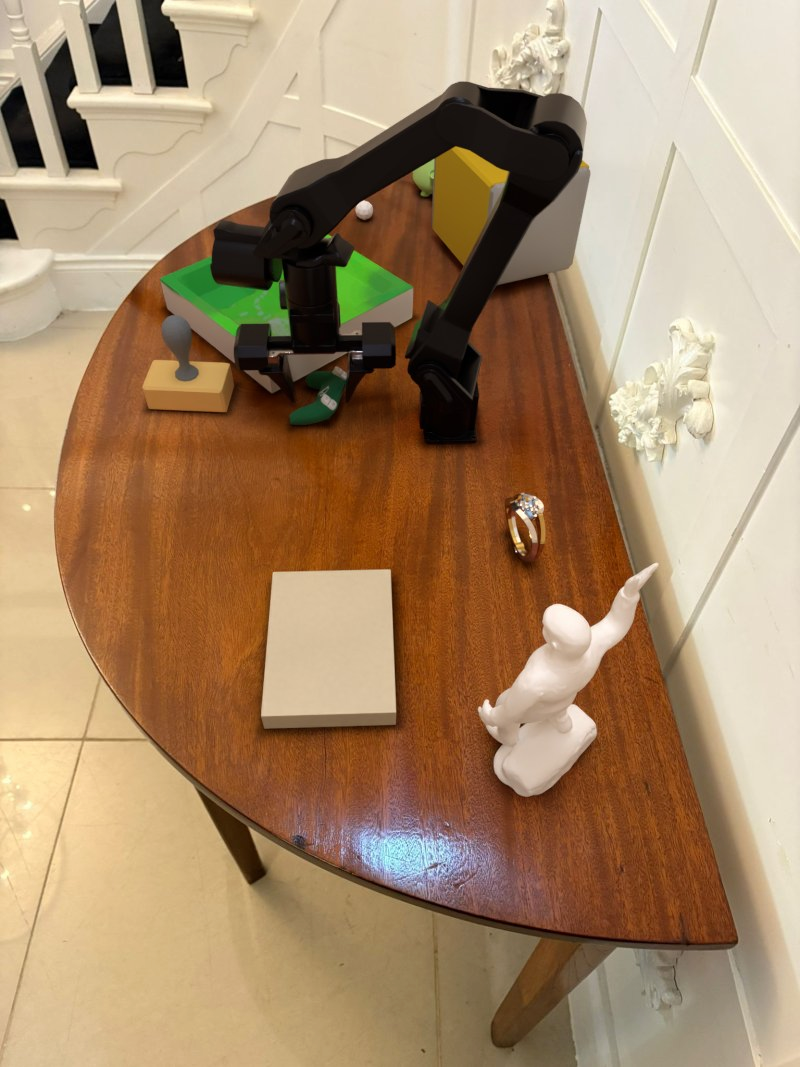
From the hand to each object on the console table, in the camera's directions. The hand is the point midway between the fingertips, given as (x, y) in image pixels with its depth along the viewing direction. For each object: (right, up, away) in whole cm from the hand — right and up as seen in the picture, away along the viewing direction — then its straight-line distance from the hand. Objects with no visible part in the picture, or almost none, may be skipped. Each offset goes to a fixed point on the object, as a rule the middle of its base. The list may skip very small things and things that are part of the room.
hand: (320, 400), depth 98 cm
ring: (+23, -19, -14) cm, 33 cm away
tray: (-6, +15, +14) cm, 21 cm away
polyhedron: (+4, +35, +31) cm, 47 cm away
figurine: (+22, -36, -28) cm, 51 cm away
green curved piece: (0, -1, +1) cm, 1 cm away
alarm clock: (+26, +26, +24) cm, 44 cm away
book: (+3, -28, -22) cm, 36 cm away
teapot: (+17, +43, +37) cm, 59 cm away
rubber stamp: (-17, +1, +2) cm, 17 cm away
